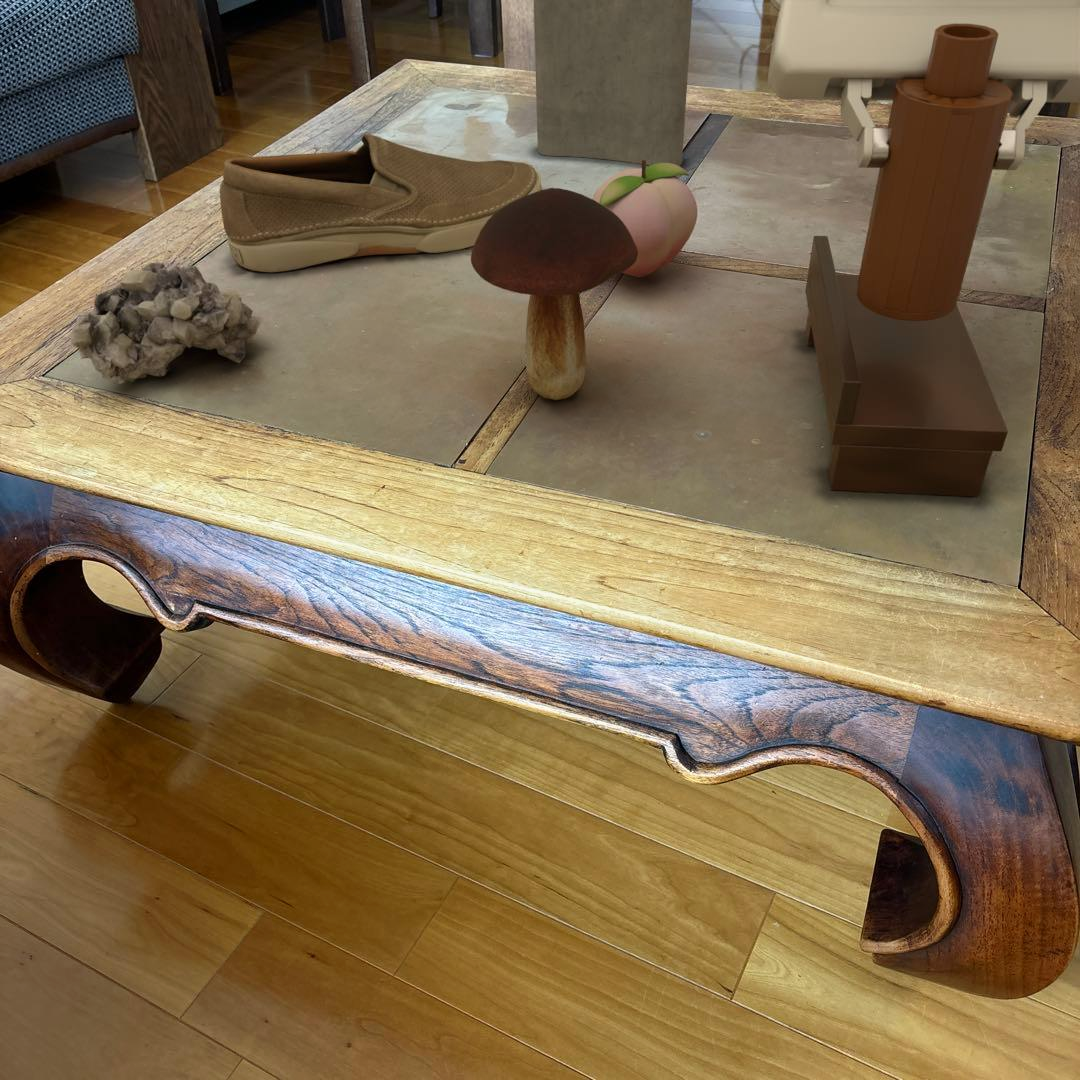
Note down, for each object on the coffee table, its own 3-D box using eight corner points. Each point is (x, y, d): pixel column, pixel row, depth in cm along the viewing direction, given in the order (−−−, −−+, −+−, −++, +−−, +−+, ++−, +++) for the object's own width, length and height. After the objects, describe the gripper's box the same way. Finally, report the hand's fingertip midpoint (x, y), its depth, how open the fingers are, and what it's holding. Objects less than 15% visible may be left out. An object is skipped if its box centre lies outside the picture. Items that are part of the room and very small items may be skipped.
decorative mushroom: (531, 455, 68) (523, 242, 59) (453, 382, 76) (435, 182, 66) (662, 404, 73) (675, 198, 63) (577, 340, 80) (576, 146, 70)
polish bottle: (946, 277, 68) (1012, 16, 58) (964, 323, 64) (1040, 48, 53) (851, 274, 69) (899, 16, 59) (862, 319, 64) (917, 47, 54)
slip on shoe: (528, 190, 102) (524, 98, 97) (561, 235, 94) (559, 137, 88) (228, 233, 97) (205, 137, 91) (235, 285, 88) (211, 183, 83)
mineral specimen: (59, 373, 71) (97, 233, 69) (74, 353, 79) (108, 227, 77) (235, 426, 75) (276, 296, 73) (232, 402, 84) (268, 284, 82)
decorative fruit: (634, 244, 93) (638, 131, 86) (708, 270, 88) (717, 154, 82) (564, 280, 88) (562, 163, 81) (638, 310, 83) (642, 190, 77)
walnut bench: (930, 336, 79) (955, 238, 74) (986, 497, 64) (1022, 388, 59) (798, 332, 80) (813, 235, 75) (822, 489, 65) (844, 381, 60)
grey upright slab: (533, 154, 110) (527, -58, 97) (546, 141, 113) (541, -66, 100) (677, 169, 106) (691, -50, 93) (687, 155, 109) (701, -59, 96)
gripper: (777, -95, 59) (766, 137, 58) (1151, -98, 57) (1146, 143, 56) (764, -27, 65) (754, 184, 64) (1100, -27, 63) (1095, 190, 62)
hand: (939, 165), depth 60 cm, fingers closed on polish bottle, 6 cm apart
